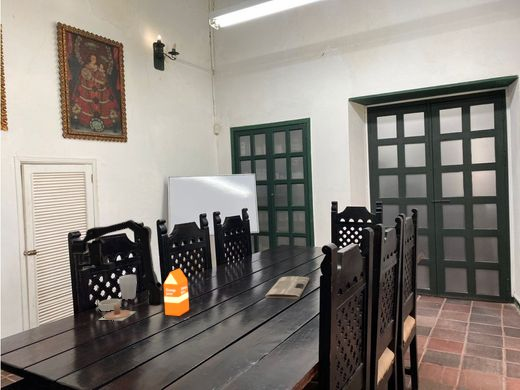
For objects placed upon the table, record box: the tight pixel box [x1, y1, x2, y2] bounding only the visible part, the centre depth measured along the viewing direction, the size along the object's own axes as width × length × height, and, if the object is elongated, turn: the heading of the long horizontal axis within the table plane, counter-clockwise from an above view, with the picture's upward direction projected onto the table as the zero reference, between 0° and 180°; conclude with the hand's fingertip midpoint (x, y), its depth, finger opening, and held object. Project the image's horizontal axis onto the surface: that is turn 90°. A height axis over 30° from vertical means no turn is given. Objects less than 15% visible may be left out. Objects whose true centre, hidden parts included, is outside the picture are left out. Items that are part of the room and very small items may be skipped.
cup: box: [118, 274, 137, 301], centre depth 212 cm, size 9×9×12 cm
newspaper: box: [264, 276, 310, 300], centre depth 216 cm, size 37×19×3 cm, turn 165°
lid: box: [103, 304, 131, 320], centre depth 183 cm, size 12×12×5 cm
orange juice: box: [163, 268, 190, 317], centre depth 184 cm, size 8×9×20 cm
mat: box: [98, 310, 136, 322], centre depth 183 cm, size 12×12×1 cm
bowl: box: [97, 298, 122, 311], centre depth 195 cm, size 10×10×4 cm
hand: (96, 283), depth 198 cm, fingers open, 9 cm apart
